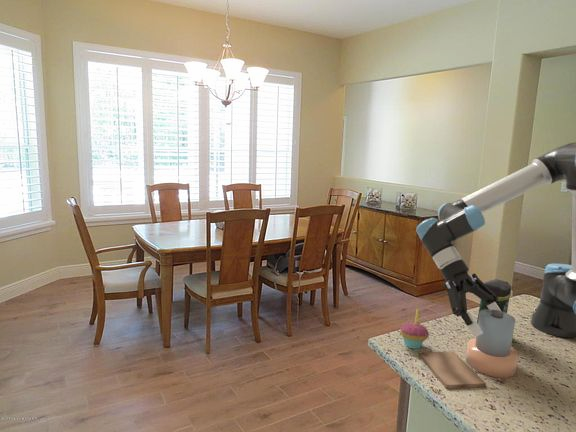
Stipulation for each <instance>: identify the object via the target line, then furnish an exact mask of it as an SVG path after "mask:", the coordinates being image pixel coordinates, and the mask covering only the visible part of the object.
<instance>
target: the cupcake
mask: <svg viewBox="0 0 576 432" xmlns="http://www.w3.org/2000/svg"><path fill="white" fill-rule="evenodd" d="M418 318H419V307H417V309H416V310H415V321H412V322H405V323H404V324H402V325H401V326H400V328H399V329H400V331H399V332H400V333H399V334H400V336H401V337H403V341H404V345H405V346H406V347H407V348H410V349H412V350H417V349H420V348H422V345H423V343H424V341H426V340H427V339H429V337H430V333H429V329H427V327H426V326H425V325H423V324H421V323H418Z"/></svg>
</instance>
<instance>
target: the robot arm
mask: <svg viewBox="0 0 576 432" xmlns="http://www.w3.org/2000/svg"><path fill="white" fill-rule="evenodd" d="M560 181H565V182H566V184H565V185H566V188H565V189H566V190H567V191H568V192H569V193H571V195H572V196H571V199H572V200H571V203H572V205H571V264H566V263H549V264H547V265H545V269H544V272H543V279H542V280H543V281H542V286H541V292H540V298H539V299H540V300H539V303H538V305H537V307H536V309H535V310H534V313H532V314H531V317H530V324H531V325H532V326H533V327H534V328H536V329H537V330H539V331H542V332H543V333H546V334H549V335H552V336H556V337H560V338H568V339H571V338H572V339H573V338H576V142H569V143H565V144H563V145H560V146H558V147H556V148H554V149H552V150H550V151H547V152H546V153H544V154H542V155H540V156H539V157H537V158H534V159H532V161H531V164H529V165H527V166H525V167H523V168H521V169H518V170H516V171H515V172H512V173H511V174H509V175H506V176H505V177H502V178H501V179H498V180H497V181H495V182H492V183H490V184H489V185H487V186H484V187H482V188H481V189H478V190H477V191H474V192H471V193H470V194H468V195H466V196H464V197H462V198H460V199H458V200H456V201H453V202H445V203H443V204H441V206H439V208H438V210H437V216H438V217H437V218H438V219H439V220H438V219H437V218H435V217H430V218H426V219H425V220H423V221H422V222H420V223H419V224H418V225H417V226H416V230H415V232H416V233H417V235H418V238H419V239H420V241H421V243H422V244H423V247H424V248H425V249H426V250H427V252H428V254H429V255H430V257H431V259H432V260H433V262H434V263H435V265H436V267H437V268H438V269H439V270H440V273H441V275H442V276H443V278H444V280H445V281H446V282H445V283H444V284H443V286H444V288H445V290H446V292H447V296H448V300H449V304H450V308H451V312H452V314H453V316H454V315H455V317H456V316H457V317H461V318H462V320H463V322H464V323H465V325H466V326H467V328H468V329H469V331H470V333H471V334H472V336H473V337H474V338H476V336H479V335H481V334H483V332H482V330H481V328H480V327H479V325H478V324H477V320H476V319H475V317H474V315H473V314H472V312H471V311H470V310H469V311H468V306H467V295H466V294H467V293H470V294H473V295H475V297H477V298H479V299H480V301H481V300H483V301H484V302H486V303H487V304H489V305H488V306H487V307H488V308H489V310H499V311H501V309H500V308H499V306H498V305H497V303H496V302H495V301H497V300H498V297H497V295H496V294H495V293H494V292H493V291H491V290H490V289H489V288H488V287H487V286H486V285H485V284H484V283H485V282H483V281H482V280H481V279H480V278H479V277H478V276H477V274H476V273H472V274H471V275H469V274H468V272H469V267H468V265H467V264H466V262H465V261H464V259H462V256H461V254H460V253H459V251H458V250H457V248H455V246H454V244H453V243H454V242H455V241H458V240H459V239H461V238H463V237H465V236H467V235H469V234H471V233H473V232H475V231H476V232H477V230H479V229H481V228H482V227H484V226H485V224H486V220H485V219H486V218H485V217H484V215H483V213H486V212H487V211H490V210H492V209H494V208H497V207H498V206H501V205H502V204H504V203H506V202H509V201H511V200H513V199H515V198H517V197H519V196H521V195H523V194H525V193H528V192H530V191H531V190H535V189H536V188H539V187H540V186H542V185H547V186H549V185H552V184H554V183H556V182H560Z"/></svg>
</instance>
